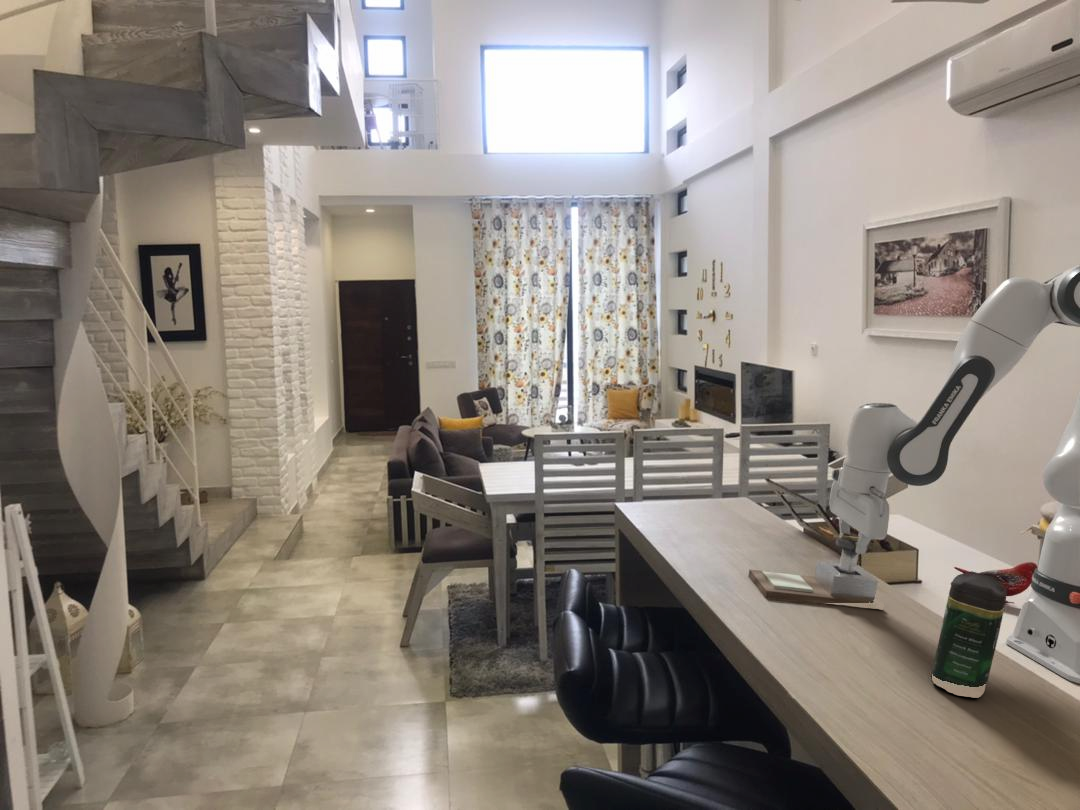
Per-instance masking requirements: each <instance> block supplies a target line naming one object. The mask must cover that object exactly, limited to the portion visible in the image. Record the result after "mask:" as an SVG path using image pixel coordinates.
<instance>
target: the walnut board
mask: <svg viewBox="0 0 1080 810" xmlns="http://www.w3.org/2000/svg"><path fill="white" fill-rule="evenodd" d="M814 577H815V576H814V575H813V576H811V575H802V574H793V573H785V572H774V571H767V570H756V569H748V578H749V580H751V581H752V582H753V584H754V585H755V586H756V588H757V590H758V591H759V592H760V593H761V594H762V595H763V596H764V598H765V599H772V600H781V601H791V602H798V603H799V602H800V603H809V604H816V603H869V602H870V603H873V602H874V601H873V600H870V599H861V598H852V597H843V596H834V595H830V594H829V593H828V592H827V591H826V590H825V589H824V588H823V587H822V586H821V585H820V584H819V583H818V582H817V581H816V580H815V579H814Z"/></svg>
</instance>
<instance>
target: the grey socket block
mask: <svg viewBox="0 0 1080 810" xmlns="http://www.w3.org/2000/svg"><path fill="white" fill-rule="evenodd" d="M839 565H840V562H830V561H821V560H817V562H816V566H815V567H816V568H815V572H814V576H813V577H814V579H815V580H816V581H817V582H818V583H819V584H820V585H821V586H822V587H823V588H824V589H825V590H826V591H827V592H828V593H829V594H830V595H834V596H843V597H852V598H861V599H870V600H874V599H875V595H876V593H877V588H878V583H879V580H877V579H876V578H875V577H873V575H871V574H870V573H869V572H868V571H866V570H865V569H864V568H863V567H862V566H860V565H859V564H858V565H856V571H855V575H851V574H842V573H840V572H839V571H838V570H839Z"/></svg>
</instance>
